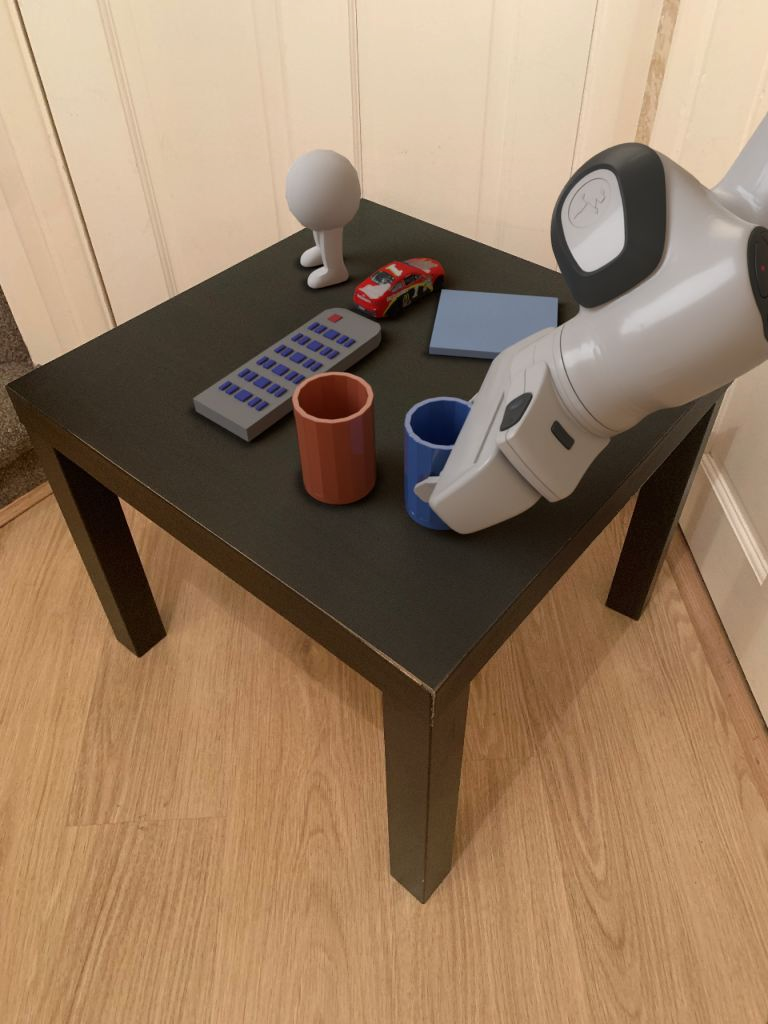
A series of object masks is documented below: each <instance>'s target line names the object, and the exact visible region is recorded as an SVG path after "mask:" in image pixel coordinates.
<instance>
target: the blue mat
mask: <svg viewBox="0 0 768 1024" xmlns="http://www.w3.org/2000/svg"><path fill="white" fill-rule="evenodd" d="M558 312H559V297H555V296H554V297H552V296H538V295H523V294H511V293H500V292H499V293H498V292H483V291H472V290H471V291H470V290H469V291H468V290H458V289H457V290H456V289H455V290H454V289H442V288H441V292H440V296H439V301H438V305H437V310H436V316H435V320H434V324H433V328H432V334H431V339H430V343H429V352H428V353H429V354H430V355H438V356H450V357H461V358H463V357H464V358H476V359H487V360H494V359H495V358H496V357H497V356H498V355H499V354H500V353H501V352H502V351H503V350H505V349H506V348H508V347H510V346H511V345H513V344H515V343H517V342H519V341H521V340H523V339H524V338H526V337H528V336H530V335H532V334H534V333H536V332H538V331H541V330H543V329H546V328H549V327H555V328H557V327H558V318H559V317H558V316H559V313H558Z"/></svg>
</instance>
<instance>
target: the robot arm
mask: <svg viewBox="0 0 768 1024" xmlns="http://www.w3.org/2000/svg"><path fill="white" fill-rule="evenodd" d="M550 245H551V249H552V252H553V256H554V259H555V261H556V264H557V267H558V268H559V271H560V274H561V276H562V278H563V281H564V283H565V285H566V287H567V288H568V291H569V293H570V294H571V296H572V297H573V299H574V300H575V301H576V302H577V304H578V305H579V311H578V313H576V315H575V316H574V317H572V318H570V319H569V320H567V321H565V322H564V323H562V324H561V325H559V326H557V328H555V327H549V328H546V329H543V330H541V331H538V332H536V333H534V334H532V335H530V336H528V337H526V338H524V339H523V340H521V341H519V342H517V343H515V344H513V345H511V346H510V347H508V348H506V349H505V350H503V351H502V352H501V353H500V354H499V355H498V356H497V357H496V358H495V359H492V362H491V364H490V366H489V368H488V370H487V373H486V375H485V377H484V379H483V382H482V384H481V386H480V388H479V390H478V392H476V394H475V395H474V396H472V398H470V399H469V400H468V402H470V403H472V404H473V405H472V407H471V410H470V412H469V414H468V416H467V418H466V421H465V423H464V425H463V427H462V429H461V431H460V434H459V436H458V438H457V440H456V442H455V445H454V447H453V449H452V451H451V453H450V456H449V458H448V460H447V462H446V464H445V466H444V469H443V470H442V471H441V473H440V476H436V475H435V474H434V473H433V472H432V471H430V472H428V473H426V474H425V475H424V476H423V475H422V476H421V477H420V478H419V480H418V482H417V484H416V485H415V488H414V493H415V494H416V495H417V496H418V497H419V498H420V499H421V500H422V501H424V502H427V503H428V502H429V505H430V507H431V509H432V510H433V511H434V512H435V513H436V514H437V515H438V516H439V517H440V518H441V519H442V521H444V522H445V523H446V524H447V525H448V526H449V527H450V528H451V529H450V530H452V531H454V532H456V533H458V534H460V535H468V534H473V533H476V532H479V531H482V530H485V529H487V528H490V527H492V526H495V525H498V524H500V523H502V522H505V521H507V520H510V519H512V518H515V517H516V516H519V515H520V514H522V513H524V512H526V511H528V509H530V508H531V507H533V506H534V505H535V504H536V503H537V502H539V500H540V499H541V498H542V497H544V498H545V500H547V501H548V502H549V503H556V502H558V501H561V500H564V499H566V498H567V497H569V496H570V495H571V494H572V493H573V492H574V491H575V489H576V488H577V486H578V485H579V483H580V482H581V480H582V478H583V477H584V475H585V474H586V472H587V470H588V469H589V467H590V466H591V465H592V463H593V462H594V461H595V459H596V458H597V457H598V455H599V454H600V453H601V452H602V451H603V450H604V449H605V448H606V447H607V446H608V445H609V444H610V442H611V438H614V437H615V436H617V435H619V434H622V433H624V432H626V431H628V430H631V429H632V428H634V427H635V426H637V425H638V424H639V423H640V422H641V421H642V420H643V419H645V418H646V417H647V416H649V415H651V414H652V413H655V412H657V411H661V410H664V409H672V408H677V407H681V406H684V405H686V404H688V403H691V402H693V401H695V400H698V399H699V398H701V397H703V396H706V395H707V394H710V393H712V392H714V391H716V390H717V389H719V388H721V387H723V386H725V385H727V384H729V383H731V382H733V381H734V380H735V381H736V380H737V379H738V378H740V377H742V376H744V375H746V374H748V373H749V372H750V371H752V370H754V369H755V368H757V367H759V366H760V365H763V363H765V362H766V361H768V111H767V113H766V114H765V116H764V117H763V118H762V119H761V121H760V123H759V124H758V125H757V127H756V129H754V131H753V133H752V134H751V136H750V137H749V139H748V140H747V142H746V143H745V145H744V147H743V148H742V149H741V151H740V152H739V154H738V155H737V157H736V159H734V161H733V163H732V164H731V166H730V167H729V169H728V170H727V172H726V173H725V174H724V176H723V177H722V178H721V180H719V182H718V183H717V184H715V185H714V186H713V187H712V188H708V187H707V186H706V185H704V183H701V182H700V181H699V179H697V177H695V176H694V175H693V174H692V173H691V172H689V171H688V170H687V169H686V168H684V167H683V166H681V165H680V164H679V163H677V162H676V161H675V160H673V159H672V158H670V157H669V156H667V155H666V154H664V153H663V152H660V151H658V150H656V149H655V148H652V147H650V145H649V146H648V145H647V144H644V143H640V142H635V141H634V142H633V141H632V142H631V141H630V142H623V143H618V144H616V145H612V146H610V147H607V148H605V149H603V150H601V151H600V152H597V153H596V154H595V155H593V156H592V157H590V158H589V159H587V161H585V162H584V163H583V164H582V165H581V166H580V167H579V168H578V169H576V171H575V172H574V173H573V174H572V175H571V176H570V178H569V179H568V180H567V182H566V183H565V184H564V186H563V188H562V189H561V190H560V193H559V195H558V198H557V199H556V201H555V204H554V207H553V210H552V214H551V218H550Z"/></svg>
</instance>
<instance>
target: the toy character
mask: <svg viewBox="0 0 768 1024" xmlns="http://www.w3.org/2000/svg"><path fill="white" fill-rule="evenodd" d="M359 178H360V177H359V173H358V171H357V170H356V168H355V166H354V165H353V164H352V163H351V161H350V160H349V159H348V158H347V157H346V156H345V155H342V154H340V153H338V152H337V151H334V150H333V149H321V148H316V149H314V150H310V151H308V152H304V153H302V154H301V155H300V156H298V157H297V158H296V159H295V160H294V161H292V163H291V165H290V167H289V170H288V171H287V173H286V179H285V199H286V204H287V206H288V209H289V211H290V213H291V214H292V215H293V216H294V218H296V221H298V223H299V224H300V225H301V226H302V227H304V228H306V229H309V230H311V231H312V234H313V239H314V242H315V243H314V244H315V246H313V247H311V248H309V249H306V250H305V251H304V252H303V253H302V255H301V257H300V264H301V266H302V267H305V268H312V267H316V266H317V267H318V266H320V265H321V267H319V268H317V269H315V270H313V271H312V272H311V273H310V274H309V276H308V278H307V285H308V287H310V288H312V289H321V288H325V287H329V286H333V285H336V284H341V283H343V282H346V281H347V280H348V279H349V276H350V274H349V271H348V269H347V267H346V265H345V262H344V256H343V255H344V253H343V240H344V239H343V238H344V237H343V235H344V227H345V226H346V225H347V224H349V223H350V222H352V220H353V219H354V218H355V216H356V214H357V213H358V210H359V209H360V205H361V197H362V189H361V183H360V179H359ZM322 265H323V266H322Z"/></svg>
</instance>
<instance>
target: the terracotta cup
mask: <svg viewBox="0 0 768 1024" xmlns="http://www.w3.org/2000/svg"><path fill="white" fill-rule="evenodd" d="M292 403H293V410H292V411H293V418H294V424H295V433H296V440H297V448H298V456H299V463H300V471H301V476H302V482H303V486H304V489H305V491H306V492H307V494H309V496H311V497H312V498H313V499H314V500H317V501H319V502H321V503H324V504H328V505H339V506H340V505H347V504H352V503H354V502H358V501H360V500H362V499H363V498H365V497H366V496H367V495H369V493H371V492H372V490H373V489H374V487H375V485H376V482H377V472H378V471H377V445H376V444H377V443H376V441H377V440H376V418H375V417H376V415H375V394H374V391H373V388H372V386H371V384H370V383H368V382H367V381H366V380H365V379H364V378H363V377H361V376H358V375H355V374H353V373H350V372H345V371H344V372H328V373H321V374H317V375H315V376H312V377H310V378H308V379H306V380H304V381H303V382H302V383H301V384H300V385H299V386H298V387H297V388H296V389H295V392H294V394H293V397H292Z"/></svg>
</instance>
